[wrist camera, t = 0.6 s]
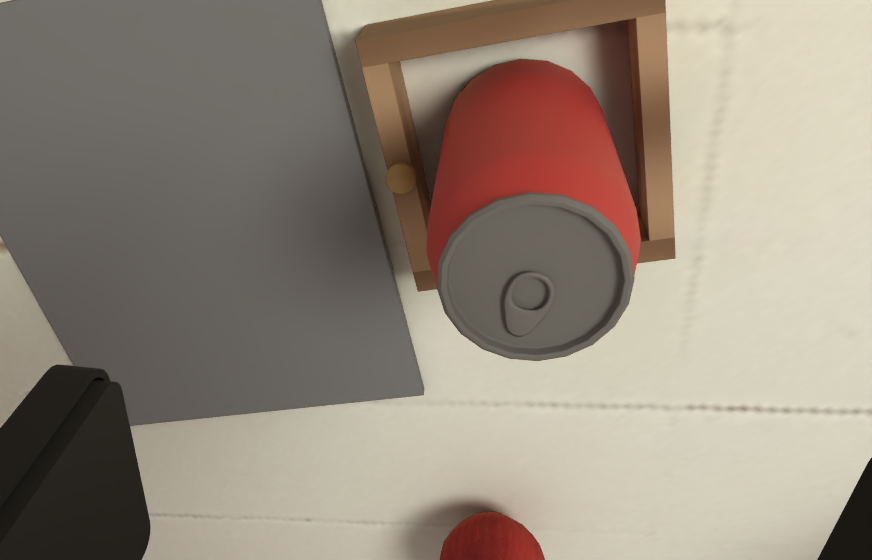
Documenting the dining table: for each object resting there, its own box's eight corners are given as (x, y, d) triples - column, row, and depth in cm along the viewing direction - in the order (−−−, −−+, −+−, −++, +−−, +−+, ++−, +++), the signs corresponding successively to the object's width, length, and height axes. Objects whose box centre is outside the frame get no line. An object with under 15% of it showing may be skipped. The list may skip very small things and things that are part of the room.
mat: (424, 389, 39) (423, 395, 39) (112, 422, 42) (108, 428, 42) (304, -63, 28) (301, -61, 27) (-108, 26, 31) (-116, 29, 30)
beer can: (431, 186, 33) (399, 350, 23) (465, 37, 29) (445, 153, 19) (575, 218, 33) (608, 395, 23) (626, 75, 30) (690, 208, 20)
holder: (664, 230, 33) (677, 263, 31) (420, 263, 35) (414, 296, 32) (652, -30, 28) (666, -16, 25) (363, 25, 29) (350, 44, 27)
